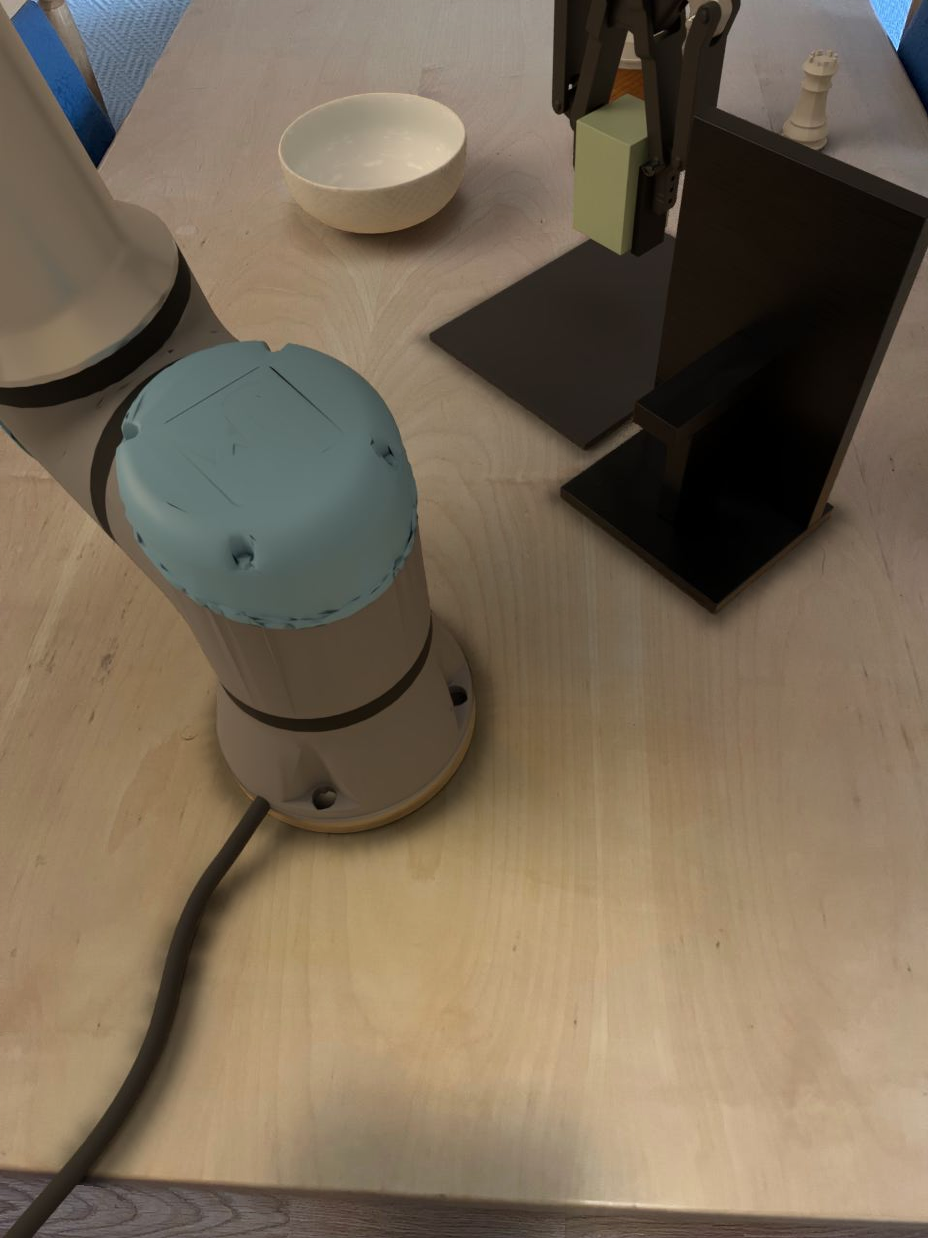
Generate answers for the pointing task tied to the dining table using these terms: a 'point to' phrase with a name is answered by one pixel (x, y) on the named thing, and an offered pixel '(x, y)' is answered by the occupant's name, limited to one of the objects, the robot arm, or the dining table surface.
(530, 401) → the desk mat
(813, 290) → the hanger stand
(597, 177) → the sage block
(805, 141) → the rook chess piece
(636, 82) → the disposable coffee cup
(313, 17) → the dining table surface
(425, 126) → the cereal bowl
